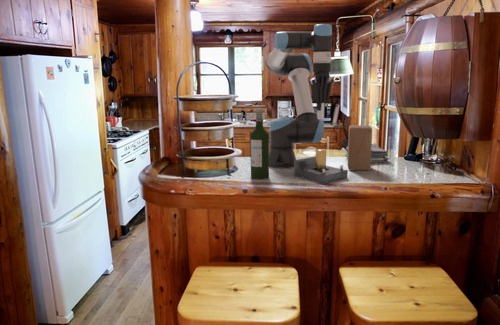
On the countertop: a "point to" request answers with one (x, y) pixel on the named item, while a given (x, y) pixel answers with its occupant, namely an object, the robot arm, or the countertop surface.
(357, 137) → the wooden block
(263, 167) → the wine bottle
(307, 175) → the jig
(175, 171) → the countertop surface
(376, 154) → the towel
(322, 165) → the brass cylinder
